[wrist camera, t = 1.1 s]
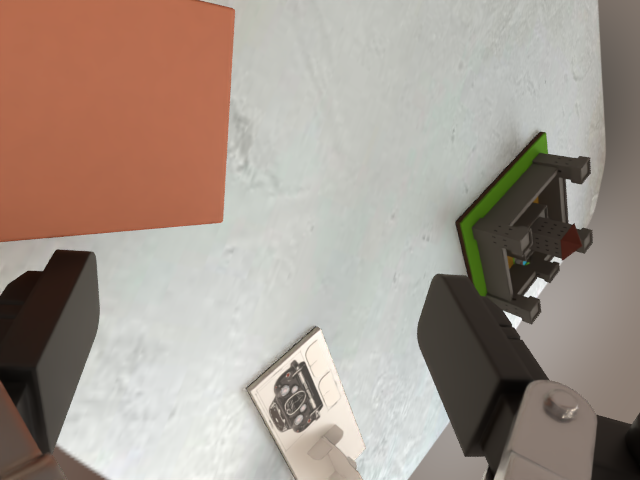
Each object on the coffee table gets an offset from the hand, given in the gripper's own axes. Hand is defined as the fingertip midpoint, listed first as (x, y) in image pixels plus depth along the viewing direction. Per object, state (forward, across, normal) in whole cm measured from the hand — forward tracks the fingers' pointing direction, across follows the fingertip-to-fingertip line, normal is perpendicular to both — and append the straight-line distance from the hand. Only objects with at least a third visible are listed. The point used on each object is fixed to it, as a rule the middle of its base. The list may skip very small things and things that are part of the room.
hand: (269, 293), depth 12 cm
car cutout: (+17, -6, +24) cm, 30 cm away
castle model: (+33, -28, +15) cm, 46 cm away
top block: (+8, +8, -2) cm, 12 cm away
